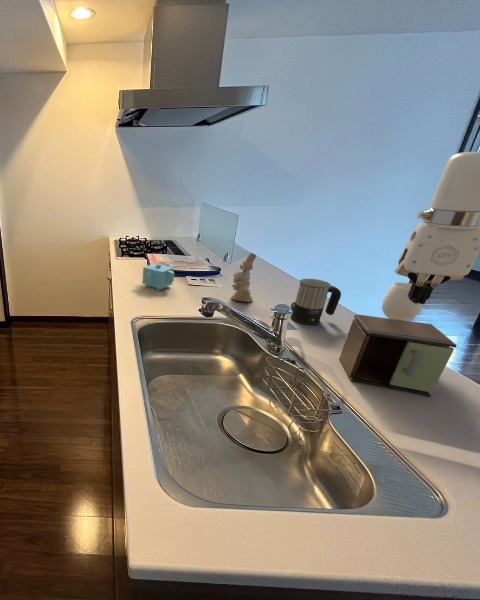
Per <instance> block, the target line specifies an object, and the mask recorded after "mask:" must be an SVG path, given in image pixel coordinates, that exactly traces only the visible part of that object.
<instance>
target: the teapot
mask: <svg viewBox="0 0 480 600" xmlns="http://www.w3.org/2000/svg"><path fill="white" fill-rule="evenodd" d="M170 264H171V262H167V263H166V264H165V265H164V264H162V263H152V264H148V265H145V266H143V268H142V281H141V282H142V284H143V285H146V288H155V290H156V291H162V290H163V289H164V288H168V287H169V286H172V285H173V282H174V280H175V274H176V273H175V272H174V269H175V268H174V267H171V266H170Z"/></svg>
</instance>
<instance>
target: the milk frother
mask: <svg viewBox="0 0 480 600" xmlns="http://www.w3.org/2000/svg"><path fill="white" fill-rule="evenodd" d="M328 293H330V297H329V299H328V302H327V304H326V301H327V297H328ZM341 297H342V292H341V290H340V289H339V288H337V287H336V286H334V285H331V283H329V282H328V281H325V280H322V279H316V278H302V279H299V286H298V290H297V293H296V298H295V301H294V302H292V303H291V304H290V308H291V309H292V313H291V315H290V316H289V317H290V319H291V320H292V321H294V322H297V323H299V324H302V325H306V326H307V325H309V326H316V325H319V324H320V323H321V317H322V315H323V311H324V308H325V304H326V308H325V313H326V314H327V315H329V316H333V315H334V314H335V311H336V309H337V307H338V305H339V302H340V299H341Z"/></svg>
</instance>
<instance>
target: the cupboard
mask: <svg viewBox="0 0 480 600" xmlns="http://www.w3.org/2000/svg"><path fill="white" fill-rule="evenodd" d="M408 341H411V342H418V343H425V344H431V345H438V346H445V347H452V348H454V349H455V348H456V347H457V344H456V343H455V342H454V341H453V340H452V339H450V338H449V337H448V336H447V335H445V334H444V333H443V332H442V331H441V330H439V329H438V328H437V327H436V326H434V325H433V324H432V323H427V322H419V321H412V320H407V321H404V320H396V319H389V318H388V317H382V316H381V317H380V316H373V315H365V314H357V313H355V314H354V316H353V319H352V321H351V324H350V327H349V330H348V332H347V336H346V339H345V342H344V344H343V347H342V350H341V353H340V355H339V358H338V361H339V362H340V364H341V366H342V368H343V370H344V372H345V374H346V376H347V378H348V379H349V381H350V382H351V383H357V384H361V385H367V386H371V387H377V388H382V389H386V390H391V391H392V390H393V391H398V392H402V393H408V394H413V395H418V396H422V397H427V398H430V397H431V396H432V394H431V392H426V391H420V390H415V389H410V388H405V387H399V386H394V385H390V380H391V378H392V376H393V374H394V371H395V369H396V367H397V365H398V362H399V360H400V358H401V356H402V353H403V351H404V349H405V347H406V344H407V342H408Z"/></svg>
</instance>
